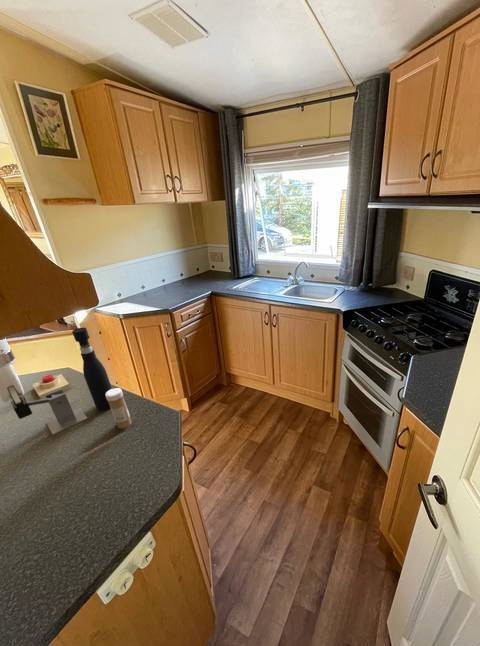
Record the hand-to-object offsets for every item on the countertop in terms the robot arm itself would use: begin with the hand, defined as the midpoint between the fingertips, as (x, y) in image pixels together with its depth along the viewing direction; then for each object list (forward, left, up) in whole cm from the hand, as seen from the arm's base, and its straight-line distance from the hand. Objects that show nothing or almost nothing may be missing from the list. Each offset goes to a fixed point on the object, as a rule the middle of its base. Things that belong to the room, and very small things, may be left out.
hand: (24, 412), depth 86 cm
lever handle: (+4, 0, 0) cm, 4 cm away
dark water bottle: (+20, -1, -10) cm, 23 cm away
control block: (+11, +30, -10) cm, 33 cm away
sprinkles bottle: (+21, -16, -10) cm, 28 cm away
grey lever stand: (+9, 0, -10) cm, 13 cm away
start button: (+10, +30, -6) cm, 32 cm away
